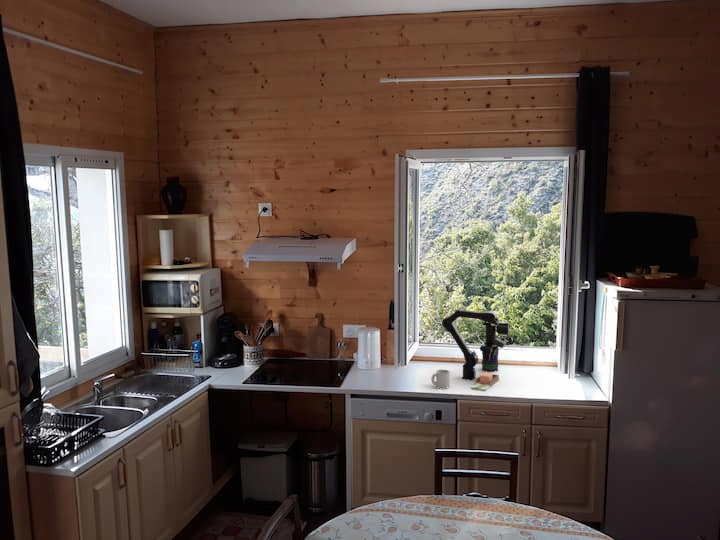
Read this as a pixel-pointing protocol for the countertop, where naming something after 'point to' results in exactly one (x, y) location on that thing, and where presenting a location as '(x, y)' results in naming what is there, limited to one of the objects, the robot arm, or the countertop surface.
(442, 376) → the cup
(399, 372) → the countertop surface
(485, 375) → the block
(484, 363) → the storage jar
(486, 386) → the wooden tray
